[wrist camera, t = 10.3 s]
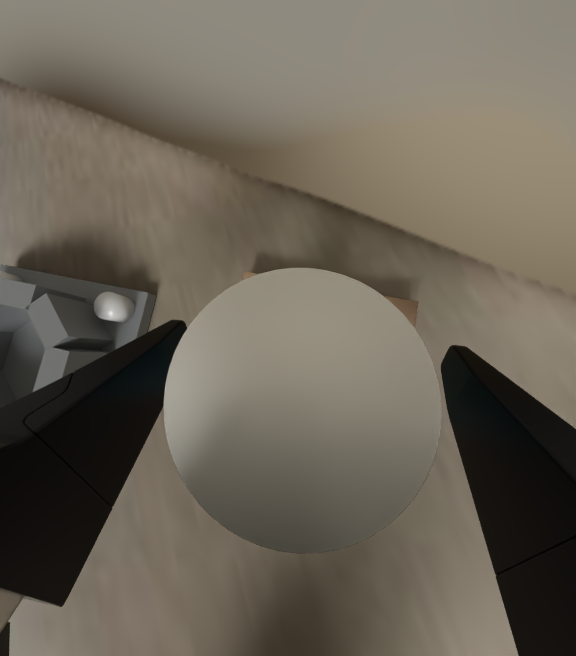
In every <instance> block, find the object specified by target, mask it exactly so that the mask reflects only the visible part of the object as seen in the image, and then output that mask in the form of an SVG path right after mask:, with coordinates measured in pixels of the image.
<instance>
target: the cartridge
mask: <svg viewBox="0 0 576 656" xmlns="http://www.w3.org/2000/svg"><path fill="white" fill-rule="evenodd" d="M441 422H442V414H441V396H440V390H439V383H438V379H437V375H436V372H435V369H434V365H433V362H432V360H431V358H430V355H429V353H428V351H427V349H426V346H425V344H424V343H423V341H422V339H421V338H420V336H419V334H418V333H417V331H416V329H415V328H414V327H413V326H412V324H411V323H410V322H409V321H408V319H407V318H406V317H405V316H404V314H403V313H402V312H401V311H400V310H399V309H398V308H397V307H395V306H394V305H393V304H392V303H391V302H390V301H389V300H388V299H386V298H385V297H384V296H382V295H381V294H380V293H378V292H377V291H376V290H374V289H372V288H370V287H369V286H367V285H365V284H363V283H362V282H360V281H357V280H355V279H353V278H350V277H348V276H345V275H342V274H339V273H335V272H331V271H327V270H321V269H314V268H286V269H278V270H273V271H269V272H265V273H261V274H257V275H255V276H252V277H250V278H247V279H245V280H242V281H241V282H239V283H237V284H235V285H233V286H231V287H229V288H228V289H226V290H225V291H224V292H222V293H221V294H219V295H218V296H217V297H215V298H214V299H213V300H212V301H211V302H210V303H209V304H208V305H207V306H205V307H204V308H203V309H202V310H201V312H200V313H199V314H198V315H197V316H196V317H195V319H194V320H193V321H192V322H191V324H190V325H189V327H188V328H187V330H186V331H185V333H184V334H183V336H182V338H181V340H180V342H179V344H178V346H177V348H176V350H175V352H174V355H173V358H172V361H171V364H170V367H169V370H168V375H167V379H166V384H165V393H164V423H165V430H166V437H167V441H168V445H169V448H170V452H171V455H172V458H173V460H174V463H175V465H176V468H177V470H178V472H179V474H180V476H181V478H182V480H183V481H184V483H185V485H186V487H187V488H188V490H189V491H190V492H191V494H192V495H193V496H194V498H195V499H196V500H197V502H198V503H199V504H200V505H201V506H202V507H203V508H204V509H205V510H206V511H207V512H208V514H209V515H210V516H211V517H212V518H214V519H215V520H216V521H218V522H219V523H220V524H221V525H223V526H224V527H225V528H226V529H228V530H230V531H231V532H233V533H235V534H236V535H238V536H240V537H241V538H243V539H245V540H248V541H250V542H252V543H255V544H257V545H260V546H262V547H266V548H270V549H274V550H277V551H283V552H291V553H321V552H327V551H333V550H338V549H342V548H345V547H348V546H351V545H354V544H357V543H359V542H361V541H363V540H365V539H367V538H369V537H371V536H373V535H375V534H376V533H377V532H379V531H380V530H382V529H383V528H385V527H386V526H388V525H389V524H390V523H391V522H392V521H394V520H395V519H396V518H397V517H398V516H399V515H400V514H401V513H402V512H403V511H404V510H405V509H406V508H407V506H408V505H409V504H410V503H411V501H412V500H413V499H414V498H415V497H416V495H417V494H418V492H419V490H420V489H421V487H422V485H423V483H424V482H425V480H426V478H427V476H428V474H429V471H430V469H431V467H432V464H433V462H434V459H435V455H436V451H437V447H438V444H439V439H440V430H441Z"/></svg>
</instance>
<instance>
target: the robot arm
mask: <svg viewBox="0 0 576 656" xmlns="http://www.w3.org/2000/svg"><path fill="white" fill-rule="evenodd" d="M186 330H187V327H186V324H185V322H184V321H182V320H171V321H169V322H167V323H165V324H163V325H161V326H159V327H157V328H155V329H153V330H152V331H150V332H148V333H146V334H144V335H142V336H140V337H138V338H136V339H134V340H132V341H131V342H129V343H127V344H125V345H123V346H121V347H119V348H117V349H115V350H113V351H112V352H110V353H108V354H106V355H104V356H102V357H100V358H98V359H96V360H94V361H93V362H91V363H89V364H87V365H85V366H83V367H81V368H79V369H77V370H75V371H74V373H73V372H72V373H70V374H68V375H66V376H64V377H62V378H60V379H58V380H56V381H54V382H52V383H50V384H48V385H46V386H44V387H42V388H40V389H38V390H36V391H34V392H32V393H30V394H28V395H26V396H24V397H21V398H19V399H17V400H15V401H13V402H11V403H8V404H6V405H4V406H2V407H0V656H9V637H10V622H8V621H9V619H10V617H11V616H12V614H13V613H14V611H15V610H16V608H17V607H18V605H19V604H20V602H21V600H22V599H23V598H24V599H28V600H33V601H37V602H41V603H46V604H50V605H55V606H59V607H62V606H63V605H64V603H65V601H66V600H67V598H68V596H69V594H70V592H71V590H72V588H73V586H74V584H75V582H76V580H77V578H78V576H79V574H80V572H81V570H82V568H83V566H84V564H85V562H86V560H87V558H88V556H89V554H90V552H91V550H92V548H93V546H94V544H95V542H96V540H97V538H98V536H99V534H100V532H101V530H102V528H103V526H104V524H105V522H106V520H107V518H108V516H109V514H110V512H111V510H112V507H113V506H114V504H115V502H116V500H117V498H118V496H119V494H120V492H121V490H122V488H123V486H124V484H125V482H126V480H127V478H128V476H129V474H130V472H131V470H132V468H133V466H134V464H135V462H136V460H137V458H138V456H139V454H140V452H141V450H142V448H143V446H144V444H145V442H146V440H147V438H148V436H149V434H150V432H151V430H152V428H153V426H154V424H155V422H156V420H157V418H158V416H159V414H160V412H161V410H162V408H163V406H164V393H165V384H166V379H167V375H168V370H169V367H170V364H171V361H172V358H173V355H174V352H175V350H176V348H177V346H178V344H179V342H180V340H181V338H182V336H183V334H184V333H185V331H186ZM441 374H442V380H443V386H444V393H445V399H446V405H447V410H448V414H449V418H450V422H451V425H452V428H453V432H454V435H455V439H456V442H457V445H458V449H459V452H460V456H461V459H462V463H463V466H464V469H465V473H466V476H467V480H468V483H469V486H470V490H471V493H472V497H473V500H474V504H475V507H476V510H477V514H478V517H479V521H480V524H481V527H482V531H483V534H484V538H485V541H486V545H487V548H488V551H489V555H490V558H491V562H492V565H493V568H494V572H495V574H496V579H497V583H498V586H499V590H500V593H501V597H502V600H503V603H504V607H505V610H506V614H507V617H508V620H509V624H510V627H511V631H512V634H513V638H514V641H515V644H516V648H517V651H518V655H519V656H576V429H575V428H574V427H572V426H571V425H570V424H568V423H567V422H566V421H564V420H563V419H562V418H560V417H559V416H558V415H556V414H555V413H554V412H552V411H551V410H550V409H548V408H547V407H546V406H544V405H543V404H542V403H540V402H539V401H538V400H536V399H535V398H534V397H532V396H531V395H530V394H528V393H527V392H526V391H524V390H523V389H522V388H520V387H519V386H518V385H516V384H515V383H514V382H512V381H511V380H510V379H508V378H507V377H506V376H504V375H503V374H502V373H501V372H499V371H498V370H497V369H495V368H494V367H493V366H491V365H490V364H489V363H487V362H486V361H485V360H483V359H482V358H481V357H479V356H478V355H477V354H475V353H474V352H473V351H471V350H470V349H469V348H467V347H465V346H458V345H452V346H450V347H449V349H448V351H447V353H446V355H445V357H444V359H443V361H442V363H441Z"/></svg>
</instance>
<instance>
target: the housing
mask: <svg viewBox="0 0 576 656" xmlns="http://www.w3.org/2000/svg"><path fill="white" fill-rule="evenodd" d="M155 300H156V296H155V295H153V294H150V293H147V292H142V291H137V290H132V289H127V288H122V287H116V286H111V285H106V284H101V283H96V282H90V281H85V280H80V279H75V278H70V277H64V276H59V275H54V274H49V273H44V272H38V271H33V270H28V269H23V268H18V267H13V266H7V265H2V264H1V266H0V407H2V406H4V405H6V404H8V403H11V402H13V401H15V400H17V399H19V398H21V397H24V396H26V395H28V394H30V393H32V392H34V391H36V390H38V389H40V388H42V387H44V386H46V385H48V384H50V383H52V382H54V381H56V380H58V379H60V378H62V377H64V376H66V375H68V374H70V373H72V372H73V373H74V371H75V370H77V369H79V368H81V367H83V366H85V365H87V364H89V363H91V362H93V361H94V360H96V359H98V358H100V357H102V356H104V355H106V354H108V353H110V352H112V351H113V350H115V349H117V348H119V347H121V346H123V345H125V344H127V343H129V342H131V341H132V340H134V339H136V338H138V337H140V336H142V335H144V334H146V333H147V331H148V327H149V323H150V319H151V315H152V311H153V308H154V304H155Z"/></svg>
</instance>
